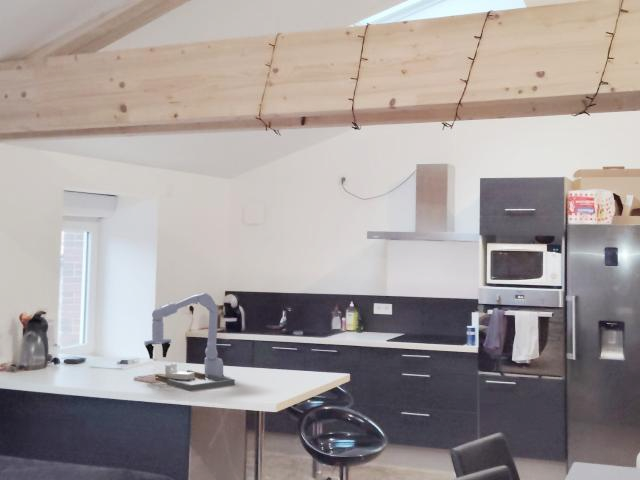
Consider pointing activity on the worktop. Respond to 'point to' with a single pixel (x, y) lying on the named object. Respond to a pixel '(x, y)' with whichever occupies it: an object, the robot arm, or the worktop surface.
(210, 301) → the robot arm
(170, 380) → the gray u-shaped frame
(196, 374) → the brown rectangular beams
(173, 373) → the bracket
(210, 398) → the worktop surface
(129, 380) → the worktop surface
